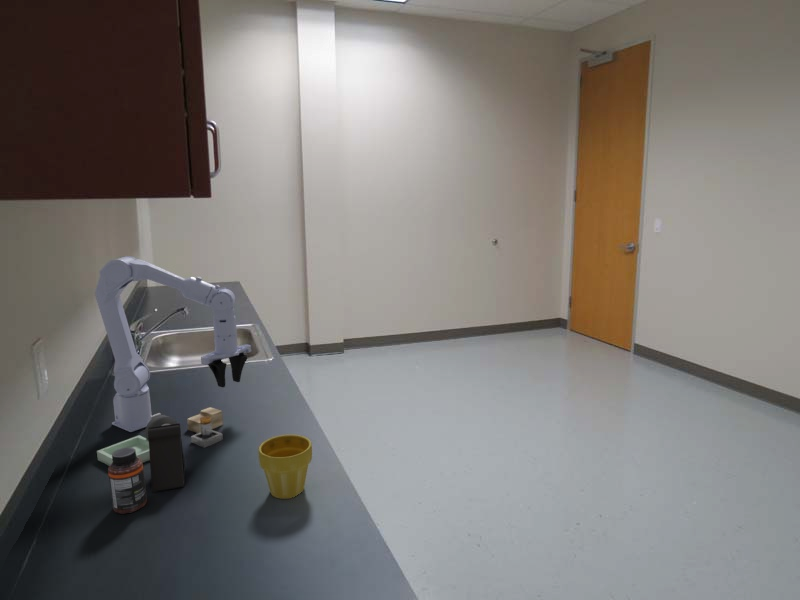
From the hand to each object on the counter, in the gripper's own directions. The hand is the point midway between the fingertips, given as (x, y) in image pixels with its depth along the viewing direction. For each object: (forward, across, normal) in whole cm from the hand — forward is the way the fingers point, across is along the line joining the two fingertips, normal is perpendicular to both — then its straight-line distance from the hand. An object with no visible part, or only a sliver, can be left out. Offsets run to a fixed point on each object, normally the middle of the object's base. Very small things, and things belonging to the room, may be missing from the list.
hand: (229, 383), depth 145 cm
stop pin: (+9, -13, -8) cm, 18 cm away
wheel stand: (+9, -20, 0) cm, 22 cm away
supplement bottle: (+10, -39, -20) cm, 45 cm away
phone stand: (+10, -29, -17) cm, 35 cm away
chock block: (+10, -8, 0) cm, 13 cm away
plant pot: (+10, -18, -41) cm, 46 cm away
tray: (+9, -28, 0) cm, 30 cm away
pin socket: (+9, -13, -8) cm, 18 cm away
